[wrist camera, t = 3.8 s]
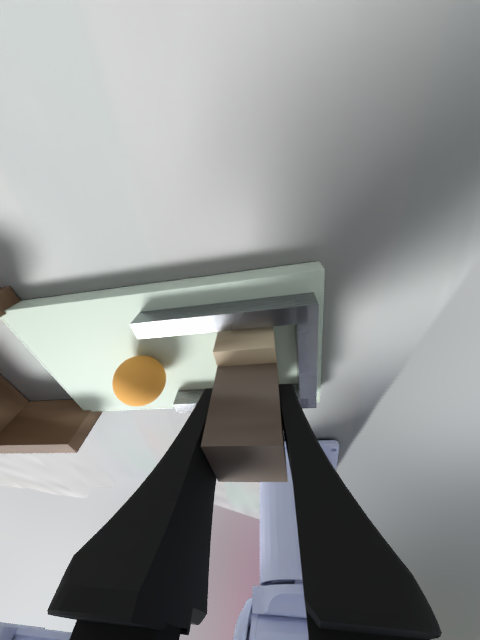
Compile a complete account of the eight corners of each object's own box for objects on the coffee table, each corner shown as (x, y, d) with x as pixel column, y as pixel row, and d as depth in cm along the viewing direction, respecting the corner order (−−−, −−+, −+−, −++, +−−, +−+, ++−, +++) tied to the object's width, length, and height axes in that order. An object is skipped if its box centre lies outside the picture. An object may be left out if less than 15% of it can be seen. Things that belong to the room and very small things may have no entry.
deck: (316, 388, 17) (319, 402, 16) (93, 399, 20) (84, 411, 19) (319, 260, 12) (324, 270, 11) (12, 301, 15) (-6, 312, 14)
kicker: (279, 384, 15) (289, 491, 10) (234, 386, 16) (223, 490, 11) (272, 322, 12) (281, 429, 7) (218, 327, 13) (192, 431, 8)
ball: (178, 376, 16) (163, 416, 13) (138, 379, 16) (117, 417, 14) (162, 343, 14) (142, 381, 12) (119, 347, 15) (90, 384, 12)
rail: (312, 392, 16) (316, 407, 15) (182, 398, 17) (177, 413, 16) (313, 292, 12) (318, 304, 11) (139, 311, 13) (129, 324, 12)
